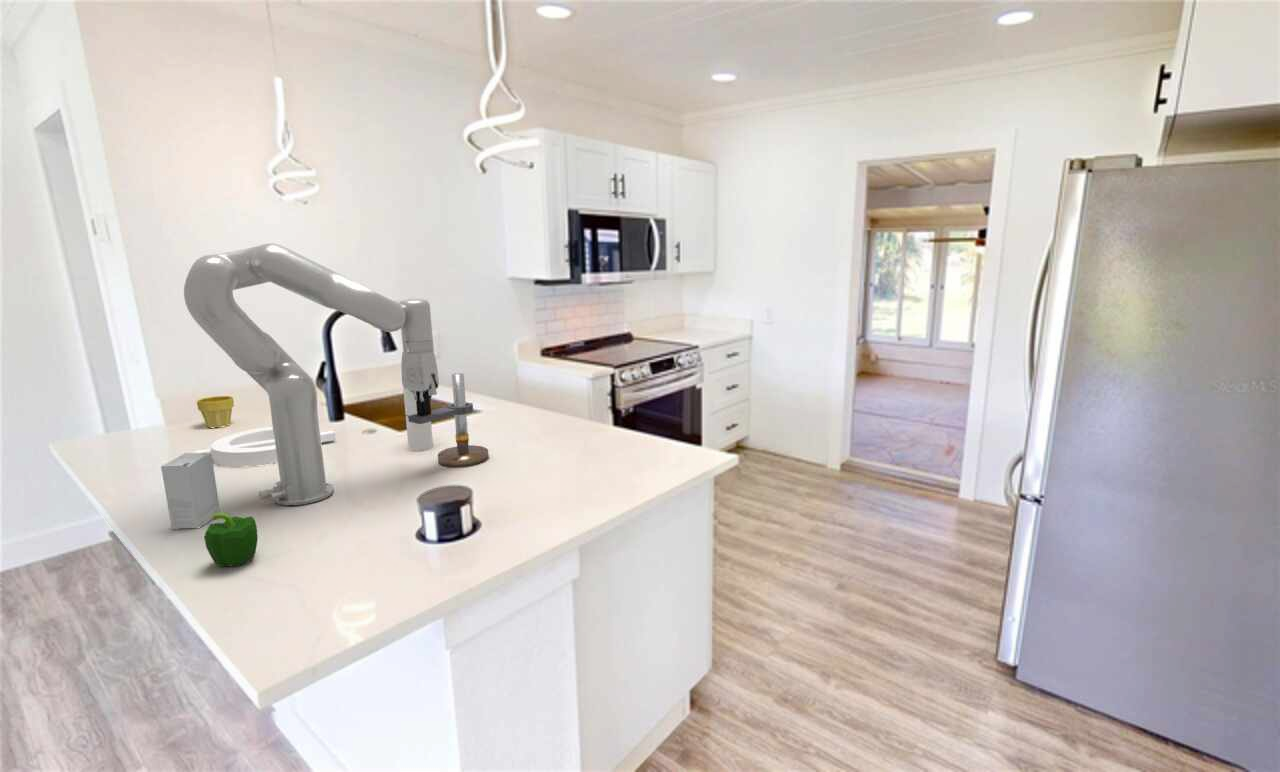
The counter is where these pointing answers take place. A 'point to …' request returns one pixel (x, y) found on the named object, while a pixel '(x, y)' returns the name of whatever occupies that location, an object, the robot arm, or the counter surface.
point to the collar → (442, 413)
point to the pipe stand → (461, 435)
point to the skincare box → (190, 490)
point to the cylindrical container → (416, 426)
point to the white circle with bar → (250, 448)
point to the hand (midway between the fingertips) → (424, 414)
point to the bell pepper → (231, 540)
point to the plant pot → (216, 410)
